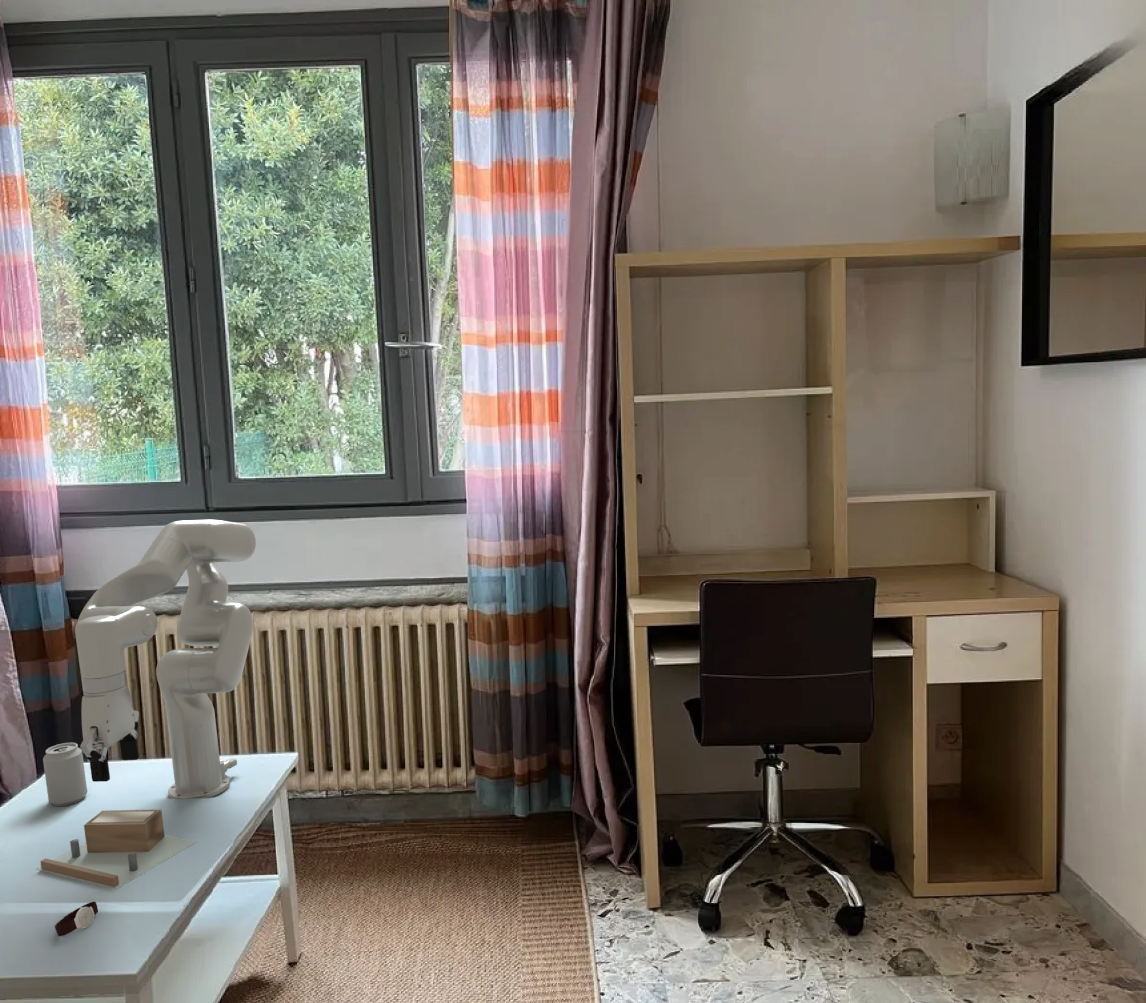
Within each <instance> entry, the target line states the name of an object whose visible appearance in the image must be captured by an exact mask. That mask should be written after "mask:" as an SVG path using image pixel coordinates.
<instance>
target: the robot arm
mask: <svg viewBox="0 0 1146 1003" xmlns="http://www.w3.org/2000/svg"><path fill="white" fill-rule="evenodd" d="M256 541H257V540H256V535H255V533H254V531H253V529H252V528H251V527H250V526H248V525H247V524H245V523H241V522H235V521H227V520H220V519H189V520H188V519H187V520H186V519H185V520H177V521H176V520H175V521H172V522H169V523H168V524H166V525H165V526H164V527H163V528H162V529H161V530H160V532H159V533H158V535H157V536H156V538H154V540H153V542H151V543H152V544H150V546H149V548H148V549H147V551H146V552H145V553H144V555H143V556H142V558H141V559H140V561H139V562H138V563H137V564H136V565H135V566H132V567H130V568H128V569H127V570H125V571H124V572H122V573H120V574H119V575H118V576H115V577H113V578H112V579H111V580H109V581H107V582H106V583H105V584H102V586H100V587H99V588H98V589H97V590H96V591H95V592H94V593H93V595H92V596H91V597H90V599H89V600H88V601H87V603H86V604H85V605H84V607H83V608H82V611H81V612H80V615H79V616H78V619H77V623H76V624H75V629H74V632H75V640H76V647H77V654H78V656H77V657H78V662H79V663H78V664H79V669H80V671H79V672H80V678H81V686H82V693H83V696H82V697H81V729H82V730H81V732H82V739H83V740H82V741H81V744H80V747H79V748H80V749H81V750H82V754H83V758H85V759H86V760H87V762H88V763H89V767H90V774H91V775H90V776H91V781H92V782H99V783H100V782H109V780H110V779H111V775H110V768H109V761H108V760H109V759H108V758H106V757H107V752H108V750H109V747H111V746H114V745H115V744H116V743H117V742H119V746H120V755H121V760H123V761H136V760H138V759H139V758H140V757H139V748H138V734H139V733H138V732H137V731H138V728H139V727H140V726H139V716H140V712H139V711H138V710H134V707H133V701H132V696H131V693H130V689H129V683H128V682H129V681H128V675H127V668H126V660H125V653H124V651H125V649H127V648H130V647H131V648H132V647H135V646H136V647H137V646H139V645H142V644H145V643H146V642H148V641H150V640H151V639H152V638H153V636H154V634H155V633H156V631H157V628H158V623H159V622H158V618H157V615H156V613H155V612H154V610H151V609H150V608H149V607H146V606H142V605H136V604H138V603H141V602H144V601H146V600H151V599H154V598H156V597H159V596H161V595H164V594H166V593H168V592H170V591H172V590H173V589H174V588H175V587H176V586H177V585H178V583H179V581H180V579H181V578H182V576H183V575H184V573H185V571H186V573H187V577H188V587H187V591H186V594H185V597H184V598H185V599H184V601H183V605H182V609H181V612H180V615H179V619H178V622H177V627H176V635H177V638H178V640H179V642H180V643H182V644H183V645H187V646H190V648H189V647H188V648H186V647H184V648H176V649H172V650H170V651H168V652H166V653H163V655H162V656H160V658H159V660H158V662H157V665H156V667H155V668H156V671H155V674H156V679H157V682H158V686H159V690H160V691H161V694H162V697H163V702H164V706H165V712H166V720H167V727H168V728H167V729H168V737H169V746H170V753H171V761H172V763H171V764H172V770H173V778H174V783H173V784H172V785H171V786H170V787H169V788H168V790H167V794H168V798H169V799H171V800H172V799H173V800H175V799H177V800H178V799H180V800H181V799H185V800H186V799H209V798H212V797H214V796H218V795H219V794H222V793H223V792H224V791H226V790H227V789H228V788H229V787H230V785H231V779H230V776H228V775H226V773H227V771H228V770H230V769H232V768H234V767H236V766H237V764H238V761H237V759H236V757H231V758H229V759H227V760H226V761H224V760H223V759H220V750H219V741H218V732H217V724H216V723H217V722H216V716H215V715H216V714H215V708H214V706H213V703H212V701H211V699H210V697H209V696H208V695H207V694H222V693H224V694H225V693H229V692H232V691H233V690H235V689H236V688H237V686H238V685H239V683H240V681H241V679H242V676H243V673H244V668H245V664H246V660H247V656H248V652H249V648H250V645H251V644H250V643H251V640H252V635H253V629H254V623H253V621H254V620H253V616H252V612H251V611H250V609H249V607H248V606H246V605H245V604H243V603H240V602H236V601H235V602H234V601H233V602H232V601H231V602H227V597H228V594H229V593H228V592H229V584H228V581H227V579H226V577H225V575H224V574H223V573H222V571H221V570H220V569H219V568H218V566H217V565H216V563H231V562H232V563H233V562H234V563H235V562H244V561H246V560H248V559H250V558H251V557H252V555H253V554H254V552H255V549H256V545H257V542H256ZM206 647H207V648H206ZM97 749H99V750H100V752H98V751H97Z"/></svg>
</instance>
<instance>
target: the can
mask: <svg viewBox="0 0 1146 1003" xmlns="http://www.w3.org/2000/svg"><path fill="white" fill-rule="evenodd" d="M78 746H79V745H78V743H76V742H64V743H59V744H56V745H53V746H50V747H48V748H47V749H45V755H44V756H43V758H42V761H43V770H44V776H45V777H44V778H45V784H46V791H47V799H48V802H49V803H50V804H53V805H54V806H58V807H62V806H69V805H73V804H75V803H79V802H80V801H82V800H83V799H84V798H85V796H87V794H88V786H87V780H86V778H87V777H86V771H85V763H84V754H83V751H82V750H81V748H80V747H78Z"/></svg>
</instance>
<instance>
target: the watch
mask: <svg viewBox="0 0 1146 1003" xmlns="http://www.w3.org/2000/svg"><path fill="white" fill-rule="evenodd" d="M98 913H99V908H98V904H97V902H96V901H91V902H89V903H85V904H84V905H80V907H78V908H76V909H74V910H72V911H71V912H70V913H68V914H66V915H65V916H64V917H63V918H61V919H60V920H59V921H58V922H57V923H56V924H55V925H54V929H55V932H56V935H57V936H58V937H63V936H66V935H68V934H70V933H72V932H74V931H76V930H78V929H86V928H88V927H89V928H90V926H91V925H92V924H93V922H94V919H95V915H97V914H98Z"/></svg>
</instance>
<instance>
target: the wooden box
mask: <svg viewBox="0 0 1146 1003" xmlns="http://www.w3.org/2000/svg"><path fill="white" fill-rule="evenodd" d="M162 812H163V811H162V809H127V810H126V809H123V810H122V809H120V810H116V809H115V810H112V809H111V810H101V811H100V812H99V813H97V814H96V815H95V816H94V817H93V818H91V819H90V820H89V821H87V822H86V823H85V824H83V830H84V835H85V836H84V837H85V843H86V845H87V852H88V853H110V852H149V851H150V850H151V849H152V848H153V847H154V846H155V845H156V844H157V843H158V842H159V841H160V840H162V839H163V838H164V837H165V835H166V834H165V829H164V827H165V826H164V820H163V819H164V818H163V813H162Z"/></svg>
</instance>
